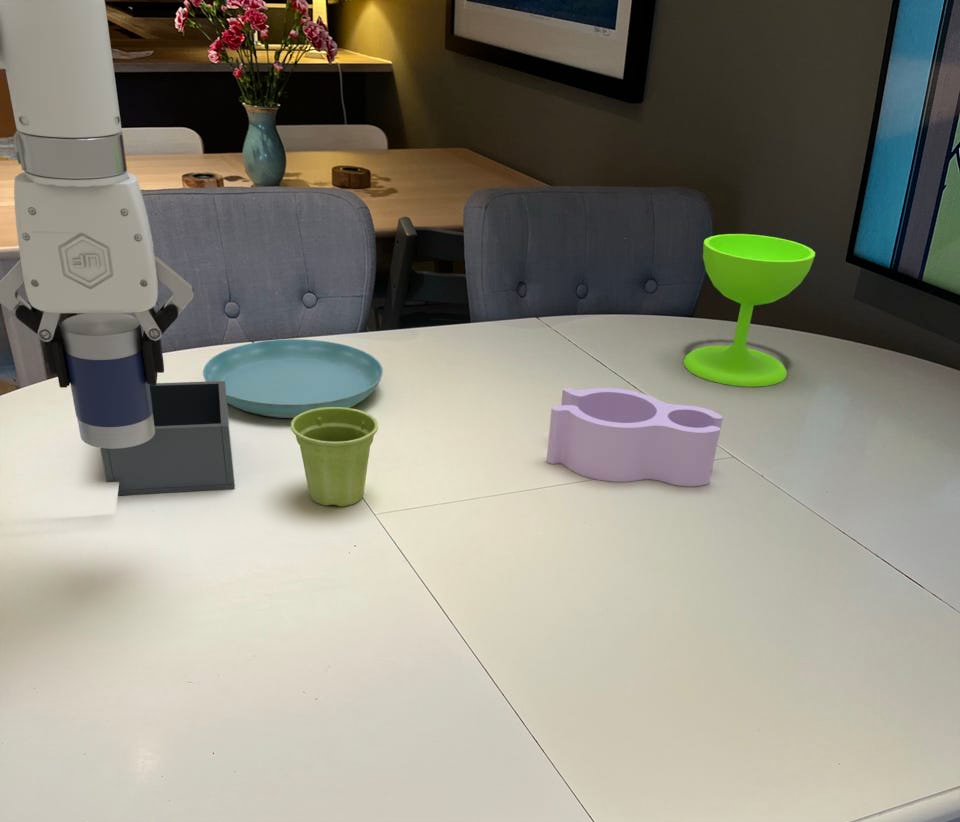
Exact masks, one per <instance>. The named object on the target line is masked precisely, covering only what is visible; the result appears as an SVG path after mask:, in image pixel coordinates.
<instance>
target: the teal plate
mask: <svg viewBox="0 0 960 822" xmlns="http://www.w3.org/2000/svg"><path fill="white" fill-rule="evenodd" d="M383 375H384V369H383V366H382V363H380V361H379V360H378V359H376V358H375V357H374V356H373V355H372V354H370V353H368V352H366V351H364V350H362V349H359V348H357V347H354V346H350V345H346V344H342V343H338V342H332V341H326V340H317V339H304V338H303V339H302V338H301V339H300V338H285V339H284V338H282V339H271V340H263V341H256V342H250V343H246V344H240V345H238V346H234V347H231V348H229V349H226V350H224V351H221V352H220V353H219V352H218V354H216V355H214V356H213V357H211V358H210V359H209V360H208V361H207V362H206V363H205V365H204V367H203V370H202V376H203V378H204V381H205V382H207V381H225V385H226V395H227V404H229V405H231V406H232V407H235V408H237V409H238V410H242V411H243V412H248V413H251V414H254V415H258V416H263V417H270V418H279V419H294V418H295V417H296V416H298V415H299V414H301V413H303V412H306V411H309V410H312V409H317V408H325V407H343V408H353V407H354V406H356V405H358V404H359V403H361V402H362V401H364V400H365V399H366V398H368V397H369V396H370V395H371V394H372V393H373V392H374V391H375V389H376V388H377V387H378V385H379V384H380V382H381V380H382V377H383Z"/></svg>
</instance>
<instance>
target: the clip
mask: <svg viewBox="0 0 960 822" xmlns="http://www.w3.org/2000/svg"><path fill="white" fill-rule="evenodd" d="M561 393H562V394H561V403H560V405H554V406H552V407H551V412H550V421H549V430H548V431H549V432H548V443H547V453H546V463H548V464H550V465H555V464H562V465H564V466H565V467H566V468H567V469H569V470H570V471H572V472H574V473H576V474H578V475H580V476H583V477H586V478H590V479H592V480H598V481H603V482H612V483H613V482H615V483H627V482H636V481H642V480H652V481H653V480H654V481H659V482H663V483H665V484H669V485H673V486H679V487H687V488H688V487H690V488H692V487H693V488H694V487H703V486H706V485H708V484H710V483H711V476H712V471H713V469H714V468H713V467H714V463H715V459H716V453H717V448H718V443H719V438H720V432H721V428H722V423H723V418H724V417H723V415H721V414H720V413H718V412H716V411H713V410H711V409H709V408H705V407H701V406H695V405H688V404H674V403H673V404H671V403H667V402H664V401H661V400H659V399H657V398H655V397H653V396H651V395H649V394H646V393H642V392H639V391H635V390H630V389H623V388H614V387H613V388H612V387H597V388H587V389H583V390H576V389H575V388H572V387H564V388H562V392H561Z"/></svg>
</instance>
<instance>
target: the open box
mask: <svg viewBox="0 0 960 822" xmlns="http://www.w3.org/2000/svg"><path fill="white" fill-rule="evenodd" d="M149 385H150V384H149ZM150 393H151V400H152V407H153V419H154V427H155V434H154V436H153V437H152V438H151V439H150V440H149V441H147V442H145V443H142V444H140V445H136V446H132V447H127V448H116V449H109V448H99V449H100V454H101V460H102V464H103V470H104V471H103V472H104V475H105V476H104V477H105V482H106V483H118V488H117V489H118V490H117V496H130V495H132V496H133V495H148V494H149V495H150V494H164V493H166V494H167V493H179V492H180V493H182V492H199V491H217V490H235V489H236V484H235V472H234V460H233V459H234V458H233V448H232V435H231V426H230V417H229V406H228V403H227V395H226V385H225V381H207V382H206V381H183V382H181V381H179V382H157V383H156V386H150Z"/></svg>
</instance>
